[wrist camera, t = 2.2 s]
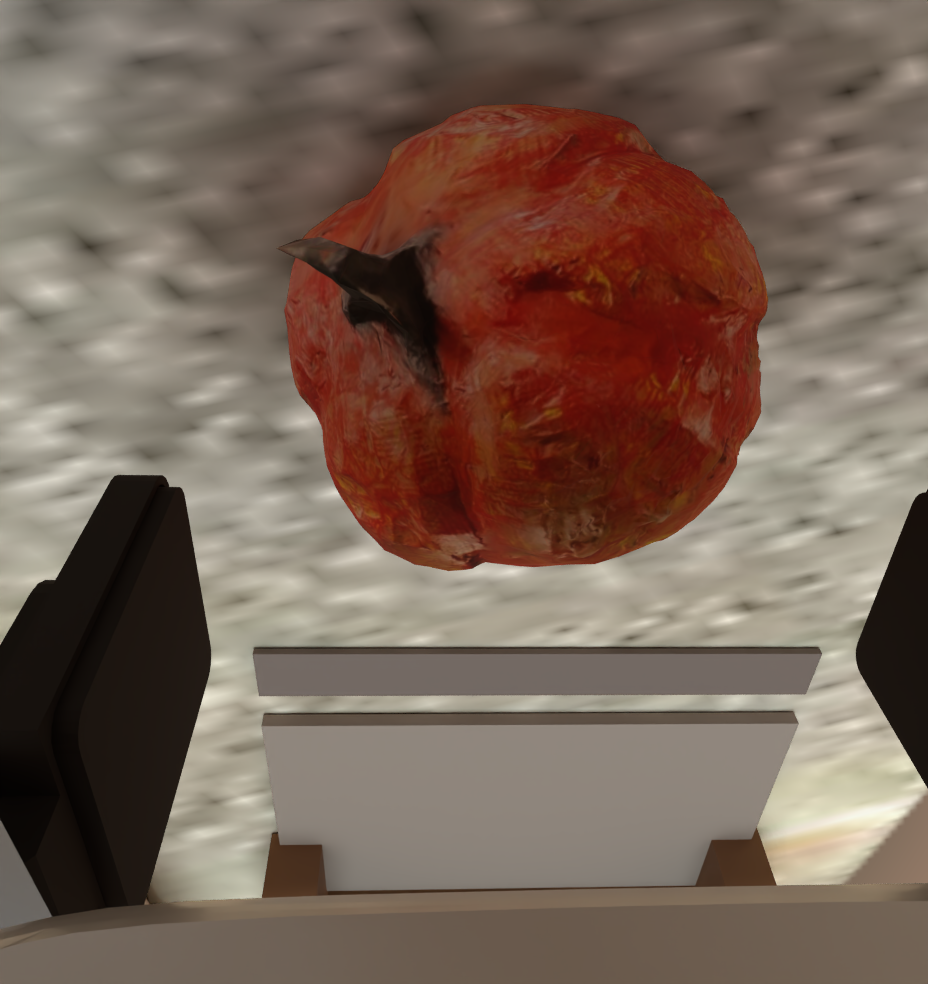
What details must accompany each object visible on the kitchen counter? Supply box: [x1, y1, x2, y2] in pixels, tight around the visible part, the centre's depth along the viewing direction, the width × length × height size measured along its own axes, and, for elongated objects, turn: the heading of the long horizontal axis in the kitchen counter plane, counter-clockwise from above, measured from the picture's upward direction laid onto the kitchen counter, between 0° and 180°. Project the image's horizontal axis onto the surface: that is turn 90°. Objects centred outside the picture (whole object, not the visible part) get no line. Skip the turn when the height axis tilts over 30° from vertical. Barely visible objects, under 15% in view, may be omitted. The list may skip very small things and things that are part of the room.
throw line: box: [253, 648, 822, 696], centre depth 23 cm, size 2×15×1 cm, turn 88°
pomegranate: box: [277, 104, 768, 571], centre depth 14 cm, size 7×7×10 cm
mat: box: [262, 712, 799, 891], centre depth 26 cm, size 8×15×1 cm, turn 88°
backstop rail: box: [262, 828, 777, 898], centre depth 27 cm, size 5×16×4 cm, turn 88°
